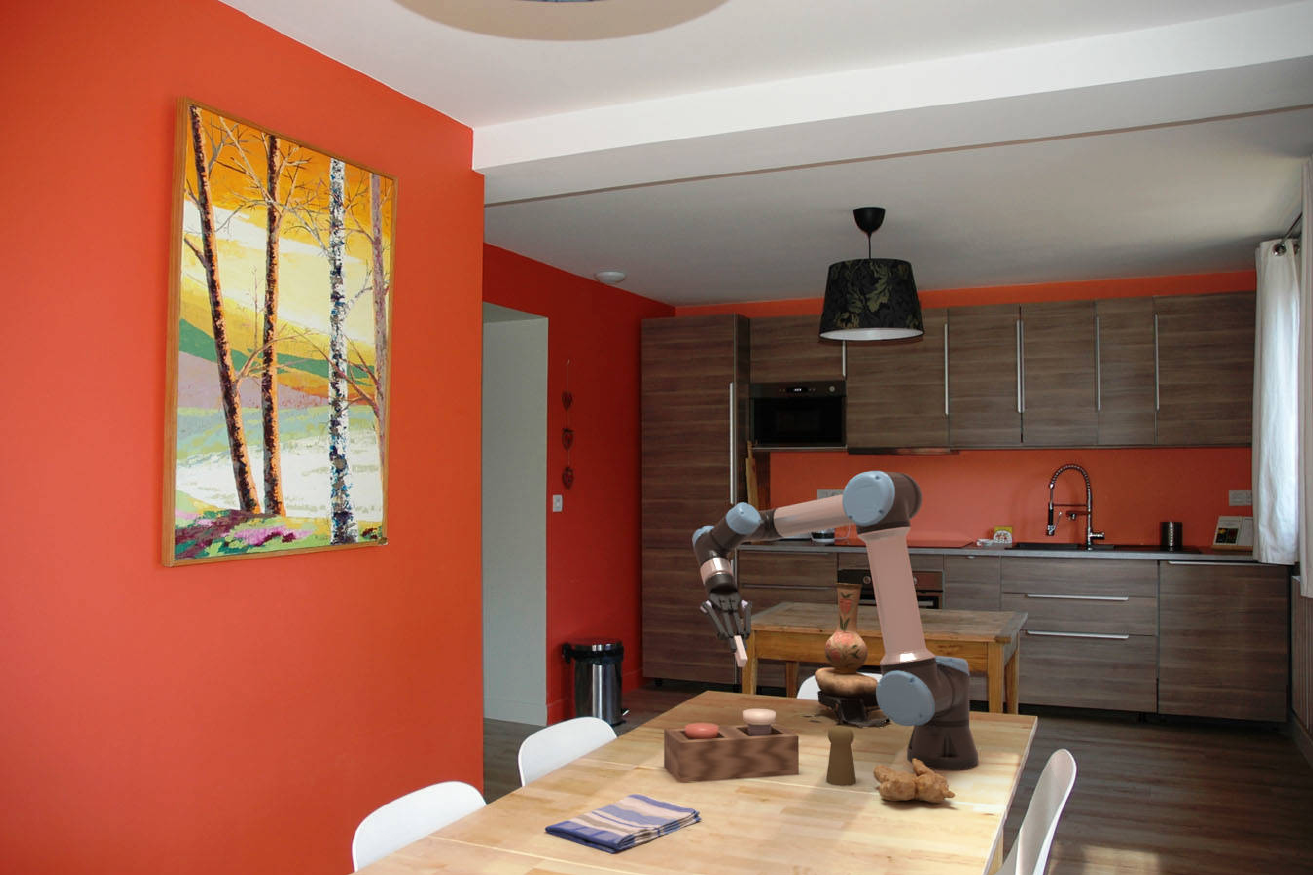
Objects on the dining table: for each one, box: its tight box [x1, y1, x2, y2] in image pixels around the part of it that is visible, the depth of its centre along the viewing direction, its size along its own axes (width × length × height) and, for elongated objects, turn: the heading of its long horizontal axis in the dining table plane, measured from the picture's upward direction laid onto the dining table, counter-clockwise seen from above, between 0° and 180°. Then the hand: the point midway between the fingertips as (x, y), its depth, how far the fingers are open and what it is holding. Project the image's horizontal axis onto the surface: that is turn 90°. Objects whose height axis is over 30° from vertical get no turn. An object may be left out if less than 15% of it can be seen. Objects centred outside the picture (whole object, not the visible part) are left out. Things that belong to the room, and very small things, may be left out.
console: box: [663, 722, 800, 783], centre depth 217 cm, size 26×12×8 cm, turn 105°
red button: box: [684, 722, 718, 740], centre depth 216 cm, size 7×7×7 cm
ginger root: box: [873, 759, 956, 804], centre depth 198 cm, size 16×16×8 cm
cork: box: [825, 725, 857, 787], centre depth 210 cm, size 6×6×11 cm
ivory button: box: [742, 708, 777, 736], centre depth 219 cm, size 7×7×7 cm
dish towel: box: [544, 793, 703, 855], centre depth 181 cm, size 17×24×3 cm
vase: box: [802, 582, 891, 729], centre depth 272 cm, size 24×22×35 cm
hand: (742, 662), depth 230 cm, fingers closed
